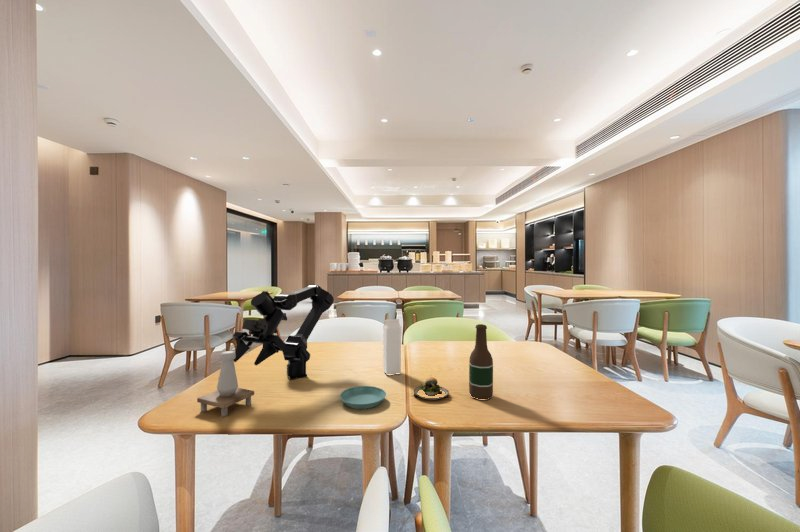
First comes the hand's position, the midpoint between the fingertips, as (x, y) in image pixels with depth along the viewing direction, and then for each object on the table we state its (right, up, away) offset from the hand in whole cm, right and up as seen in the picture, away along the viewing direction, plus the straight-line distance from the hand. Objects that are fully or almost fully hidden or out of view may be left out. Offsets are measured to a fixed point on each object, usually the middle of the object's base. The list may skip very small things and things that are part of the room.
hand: (244, 363), depth 108 cm
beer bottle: (+78, -12, +4) cm, 79 cm away
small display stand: (-3, -12, -6) cm, 14 cm away
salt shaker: (-2, -8, -6) cm, 10 cm away
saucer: (+39, -13, -1) cm, 41 cm away
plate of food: (+61, -13, +4) cm, 63 cm away
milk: (+47, -12, +27) cm, 56 cm away
